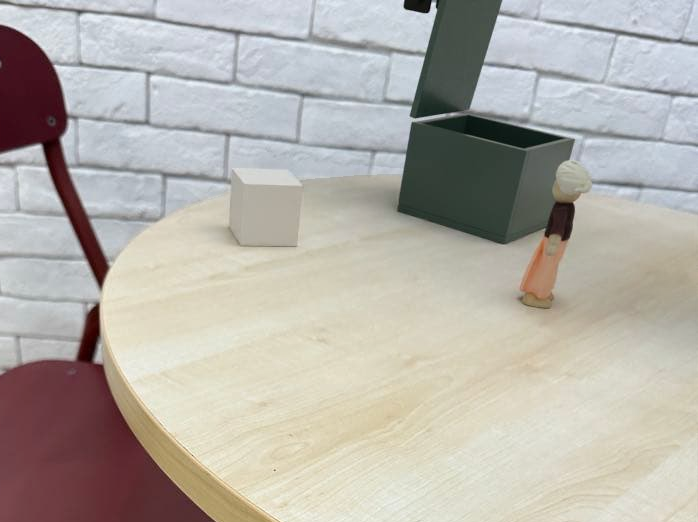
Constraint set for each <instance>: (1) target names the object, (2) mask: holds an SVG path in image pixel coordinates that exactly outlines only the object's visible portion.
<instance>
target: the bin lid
mask: <svg viewBox="0 0 698 522" xmlns="http://www.w3.org/2000/svg"><path fill="white" fill-rule="evenodd" d="M502 4H503V0H440V1H439V5H438V8H437V9H436V12H435V17H434V19H433V20H434V21H433V24H432V28H431V32H430V35H429V40H428V42H427V47H426V51H425V55H424V58H423V63H422V67H421V70H420V74H419V79H418V83H417V86H416V90H415V93H414V97H413V102H412V105H411V109H410V111H409V117H410V118H412V119H420V118H421V119H422V118H428V117H432V116H440V115H446V114H452V113H457V112H459V113H460V112H464V111H465V112H466V111H470V109H471V106H472V103H473V99H474V95H475V92H476V89H477V86H478V82H479V80H480V76H481V73H482V70H483V66H484V62H485V60H486V56H487V52H488V50H489V47H490V43H491V40H492V36H493V33H494V29H495V26H496V23H497V19H498V17H499V13H500V10H501V6H502Z"/></svg>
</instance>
